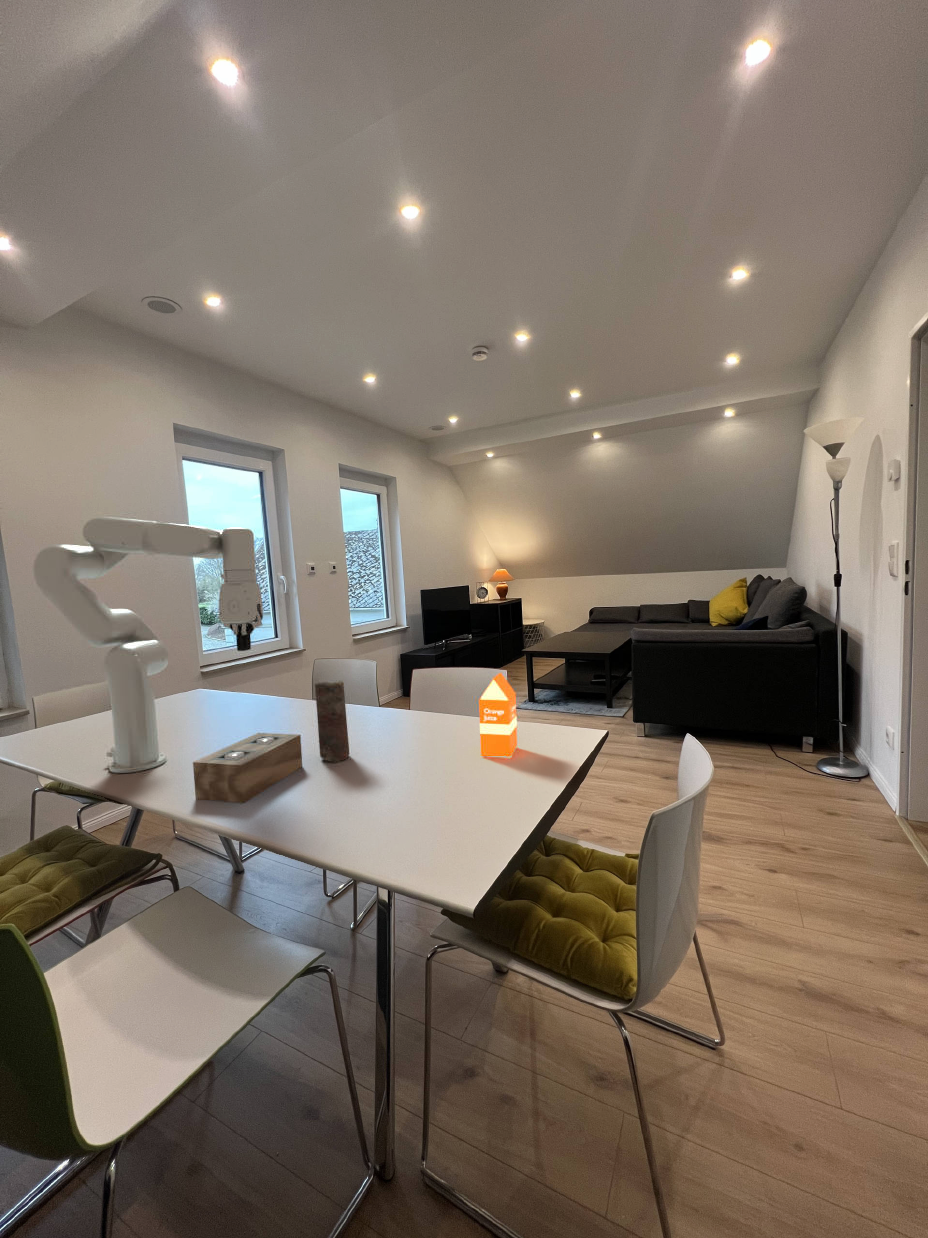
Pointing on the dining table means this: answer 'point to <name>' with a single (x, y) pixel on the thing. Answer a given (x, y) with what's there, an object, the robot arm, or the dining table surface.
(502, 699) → the orange juice
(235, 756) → the peg
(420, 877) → the dining table surface
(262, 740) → the peg
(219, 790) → the walnut block
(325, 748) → the weathered brick
